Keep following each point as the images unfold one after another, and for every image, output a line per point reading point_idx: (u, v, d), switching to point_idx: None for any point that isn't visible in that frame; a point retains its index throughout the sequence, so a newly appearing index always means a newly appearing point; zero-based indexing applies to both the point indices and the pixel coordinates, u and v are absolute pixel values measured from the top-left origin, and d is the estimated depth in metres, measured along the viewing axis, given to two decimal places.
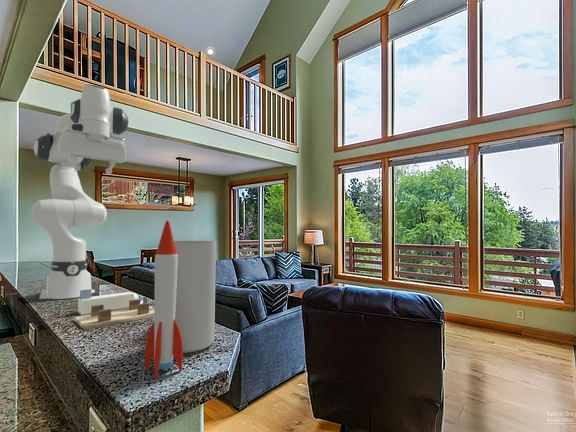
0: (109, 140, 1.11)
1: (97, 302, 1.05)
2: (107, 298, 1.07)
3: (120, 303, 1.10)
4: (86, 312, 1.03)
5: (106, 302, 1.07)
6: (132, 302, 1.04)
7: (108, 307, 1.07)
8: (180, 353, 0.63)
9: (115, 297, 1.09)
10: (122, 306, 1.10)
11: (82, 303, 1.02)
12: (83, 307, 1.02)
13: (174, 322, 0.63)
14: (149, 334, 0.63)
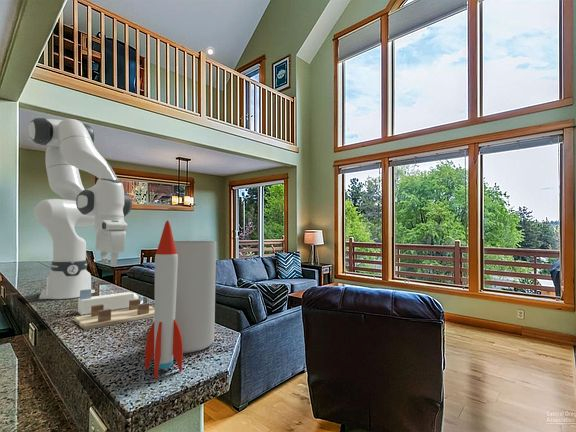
0: None
1: (97, 302, 1.05)
2: (107, 298, 1.07)
3: (120, 303, 1.10)
4: (86, 312, 1.03)
5: (106, 302, 1.07)
6: (132, 302, 1.04)
7: (108, 307, 1.07)
8: (180, 353, 0.63)
9: (115, 297, 1.09)
10: (122, 306, 1.10)
11: (82, 303, 1.02)
12: (83, 307, 1.02)
13: (174, 322, 0.63)
14: (149, 334, 0.63)
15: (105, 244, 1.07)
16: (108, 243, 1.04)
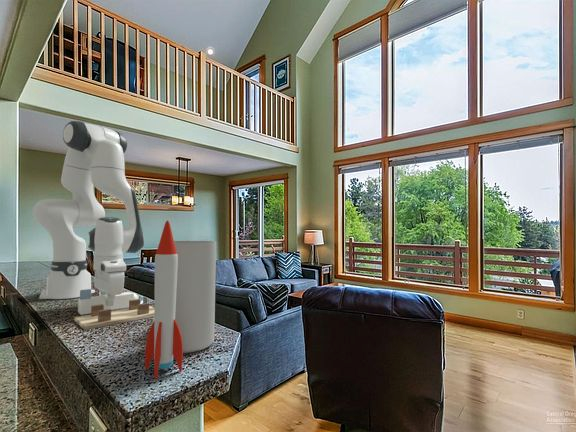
0: None
1: (97, 302, 1.05)
2: None
3: (120, 303, 1.10)
4: (86, 312, 1.03)
5: None
6: (132, 302, 1.04)
7: (108, 307, 1.07)
8: (180, 353, 0.63)
9: (115, 297, 1.09)
10: (122, 306, 1.10)
11: (82, 303, 1.02)
12: (83, 307, 1.02)
13: (174, 322, 0.63)
14: (149, 334, 0.63)
15: (104, 284, 1.06)
16: (107, 284, 1.04)
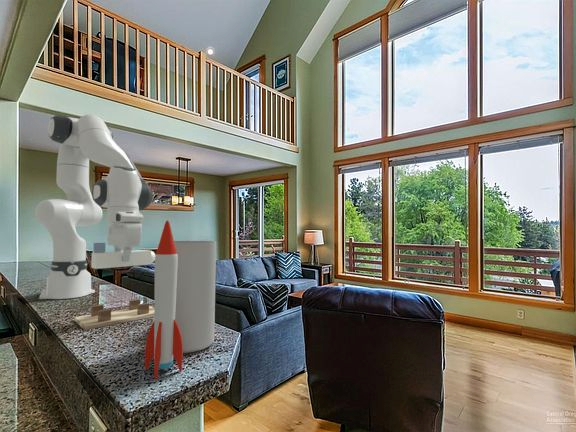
0: None
1: (112, 256, 0.96)
2: None
3: (136, 260, 1.01)
4: (101, 266, 0.93)
5: None
6: (132, 302, 1.04)
7: (124, 263, 0.98)
8: (180, 353, 0.63)
9: (131, 253, 1.00)
10: (139, 263, 1.01)
11: (96, 256, 0.93)
12: (97, 261, 0.93)
13: (174, 322, 0.63)
14: (149, 334, 0.63)
15: (119, 238, 0.97)
16: (122, 237, 0.95)
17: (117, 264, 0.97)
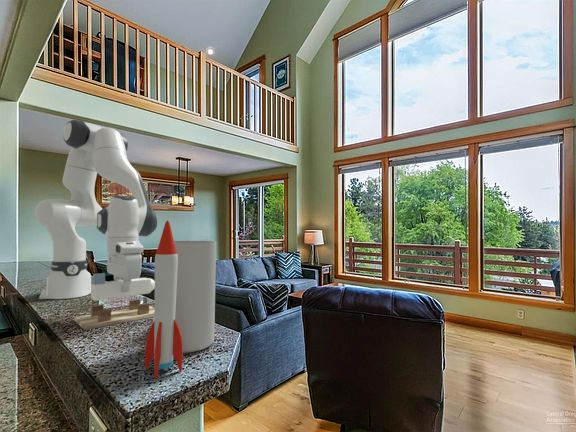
0: None
1: (112, 287, 0.95)
2: (122, 283, 0.98)
3: (136, 289, 1.00)
4: (100, 298, 0.93)
5: None
6: (132, 302, 1.04)
7: (124, 293, 0.98)
8: (180, 353, 0.63)
9: (131, 282, 0.99)
10: (138, 292, 1.01)
11: (96, 288, 0.92)
12: (97, 293, 0.92)
13: (174, 322, 0.63)
14: (149, 334, 0.63)
15: (119, 268, 0.97)
16: (122, 268, 0.94)
17: (117, 294, 0.96)
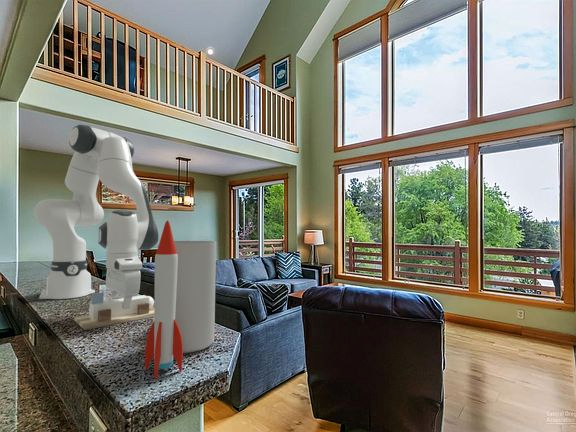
0: None
1: (110, 307, 0.95)
2: (121, 302, 0.97)
3: (135, 308, 1.00)
4: None
5: (120, 307, 0.97)
6: None
7: (122, 312, 0.97)
8: (180, 353, 0.63)
9: None
10: None
11: (94, 308, 0.92)
12: (95, 313, 0.92)
13: (174, 322, 0.63)
14: (149, 334, 0.63)
15: (117, 284, 0.96)
16: (121, 284, 0.94)
17: (115, 314, 0.96)
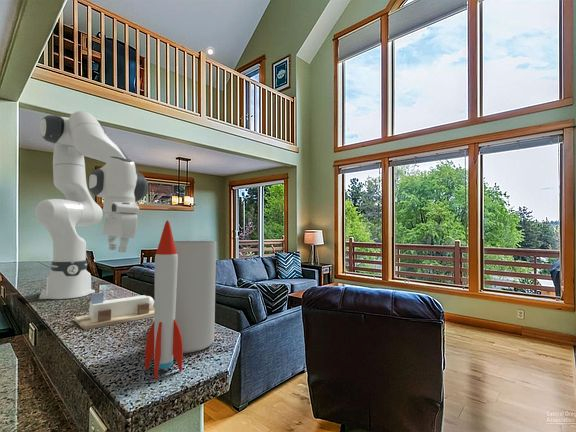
0: None
1: (110, 307, 0.95)
2: (121, 302, 0.97)
3: (135, 308, 1.00)
4: None
5: (120, 307, 0.97)
6: None
7: (122, 312, 0.97)
8: (180, 353, 0.63)
9: (129, 301, 0.99)
10: None
11: (94, 308, 0.92)
12: (95, 313, 0.92)
13: (174, 322, 0.63)
14: (149, 334, 0.63)
15: (114, 228, 0.98)
16: (118, 227, 0.95)
17: (115, 314, 0.96)
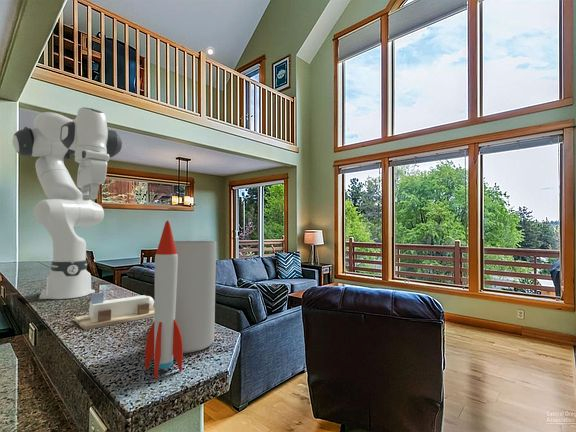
0: None
1: (110, 307, 0.95)
2: (121, 302, 0.97)
3: (135, 308, 1.00)
4: None
5: (120, 307, 0.97)
6: None
7: (122, 312, 0.97)
8: (180, 353, 0.63)
9: (129, 301, 0.99)
10: None
11: (94, 308, 0.92)
12: (95, 313, 0.92)
13: (174, 322, 0.63)
14: (149, 334, 0.63)
15: (85, 176, 1.00)
16: (88, 173, 0.98)
17: (115, 314, 0.96)
